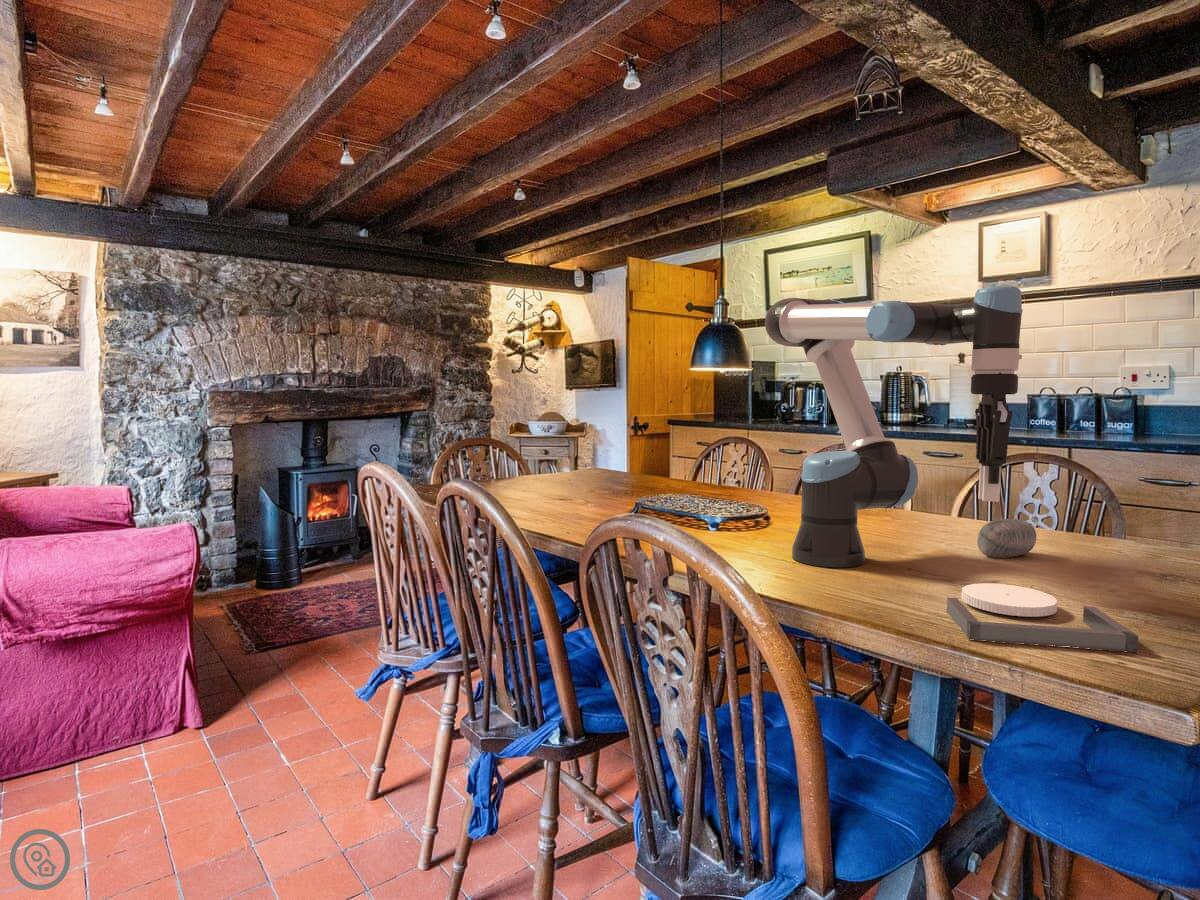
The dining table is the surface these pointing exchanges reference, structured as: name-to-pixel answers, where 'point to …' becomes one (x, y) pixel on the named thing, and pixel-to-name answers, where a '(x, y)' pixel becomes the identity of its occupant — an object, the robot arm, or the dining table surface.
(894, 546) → the dining table surface
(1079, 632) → the bracket
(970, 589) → the plastic lid
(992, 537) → the grey yarn skein
